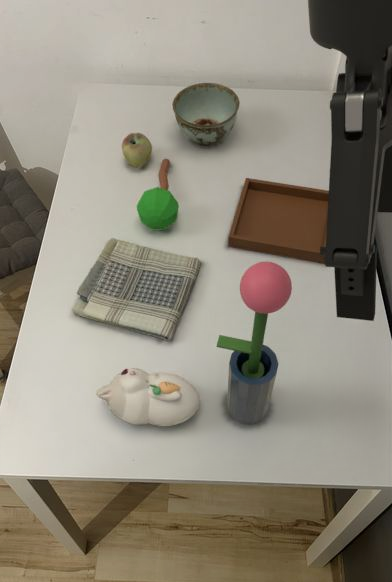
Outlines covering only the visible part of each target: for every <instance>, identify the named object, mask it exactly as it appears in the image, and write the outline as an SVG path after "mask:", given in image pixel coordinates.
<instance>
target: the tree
mask: <svg viewBox="0 0 392 582" xmlns="http://www.w3.org/2000/svg"><path fill="white" fill-rule="evenodd" d="M170 164H171V161H170V159H169V158H166V157H165V158H163V159H162V160H161V163H160V167H159V171H158V175H157V176H158V181H159V186H157V187H154V188H150V189H147V190H145V191H144V192H143V193H142V195H141V197H140V199H139V200H138V202H137V205H136V211H137V214H138V217H139V221H140V223H142V224H143V225H144V226H145V227H147V228H149V229H150V230H152V231H165V230H166V229H167V228H169V227H171V226H172V225H173V224H175V223H176V222H177V219H178V213H179V208H180V206H179V202H178V200H177V199H176V198H175V196H174V195H173V194H172V192H171V190H169V188H170V185H169V180H168V171H169V168H170Z"/></svg>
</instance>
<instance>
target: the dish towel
mask: <svg viewBox="0 0 392 582" xmlns="http://www.w3.org/2000/svg"><path fill="white" fill-rule="evenodd" d="M201 263H202V262H201V260H200V259H199V257H191V256H184V255H181V254H180V255H179V254H176V253H175V254H174V253H170V252H166V251H165V252H164V251H162V250H157V249H153V248H150V247H147V246H141V245H138V244H134V243H131V242H128V241H124V240H121V239H117V238H113V237H111V238H110V239H109V240H108V241H107V242H106V244H105V246H104V248H103V249H102V251H101V252H100V254H99V256H98V258H97V259H96V261H95V263H94V264H93V266H92V267H91V268H90V269H89V271H88V273H87V275H86V277H85V278H84V280H83V281H82V283H81V284H80V285H79V287H78V289H77V291H76V294H77V295H78V296H79V297H78V298H77V300H76V303H75V304H74V305H73V307H72V311H73V314H74V315H77V316H80V317H83V318H86V319H90V320H91V321H92V320H93V321H97V322H100V323H105V324H107V325H108V324H109V325H112V326H116V327H119V328H120V327H121V328H124V329H128V330H130V331H133V332H136V333H140V334H144V335H147V336H152V337H154V338H158V339H162V340H164V341H166V342H170V341H172V340H173V338H174V334H175V332H176V329H177V327H178V324H179V322H180V319H181V318H182V315H183V313H184V310H185V308H186V306H187V302H188V300H189V297H190V294H191V292H192V289H193V287H194V284H195V282H196V279H197V277H198V274H199V270H200V267H201Z"/></svg>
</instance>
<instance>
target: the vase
mask: <svg viewBox="0 0 392 582" xmlns="http://www.w3.org/2000/svg"><path fill="white" fill-rule="evenodd" d="M249 355H250V354H248V353H243V352H238V351H232V352H231V354H230V358H229V362H228V377H227V395H226V409H227V412H228V414H229V416H230V417H231V418H232V419H233V420H234V421H235V422H237V423H239V424H242V425H255V424H258V423H259V422H260V421H262V420H263V419H264V418H265V416H266V415H267V413H268V410H269V406H270V401H271V398H272V394H273V390H274V386H275V382H276V378H277V373H278V369H279V360H278V357H277V354H276V353H275V351H274V350H272V349H271V348H270V347H269V346H268V345H266V344H263V346H262V352H261V357H260V362H261V363H262V364H263V366H264V375H263V377H261V378H259V379H250V378H248V377H246V376H244V375H242V374H241V369H242V365H243V364H244V362H246V361H247V360H249Z"/></svg>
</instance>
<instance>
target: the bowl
mask: <svg viewBox="0 0 392 582" xmlns="http://www.w3.org/2000/svg"><path fill="white" fill-rule="evenodd" d="M171 104H172V110H173V113H174V117H175V121H176V123H177V126H178V127H179V129H180V131H181V133H182V134H183V135H184V136H185V137H186V138H187V139H189V140H190V141H192V142H194V143H195V144H197V145H199V146H201V147H210V146H213V145H216V144H218V143H219V142H220V141H221V140H224V139H225V138H226V137H227V136H228V135H229V134H230V132H231V131H232V130H233V127H234V126H235V124H236V120H237V117H238V111H239V109H240V98H239V97H238V94H237V93H236V92H235V91H234V90H233V89H231V88H229V87H228V86H225V85H223V84H220V83H214V82H201V83H195V84H191V85H189V86H187V87H185V88H183V89H182V90H180V91H179V92H178V93H177V94H176V95H175V96H174V98H173V101H172V103H171Z"/></svg>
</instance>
